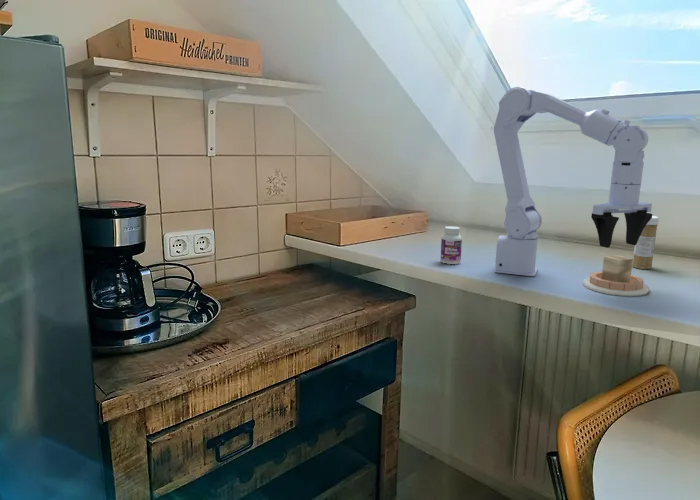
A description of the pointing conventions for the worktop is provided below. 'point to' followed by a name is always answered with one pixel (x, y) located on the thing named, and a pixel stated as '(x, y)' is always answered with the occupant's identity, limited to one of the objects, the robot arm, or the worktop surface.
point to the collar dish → (616, 285)
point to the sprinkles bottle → (646, 245)
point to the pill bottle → (451, 245)
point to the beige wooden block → (617, 268)
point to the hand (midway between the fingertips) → (618, 245)
